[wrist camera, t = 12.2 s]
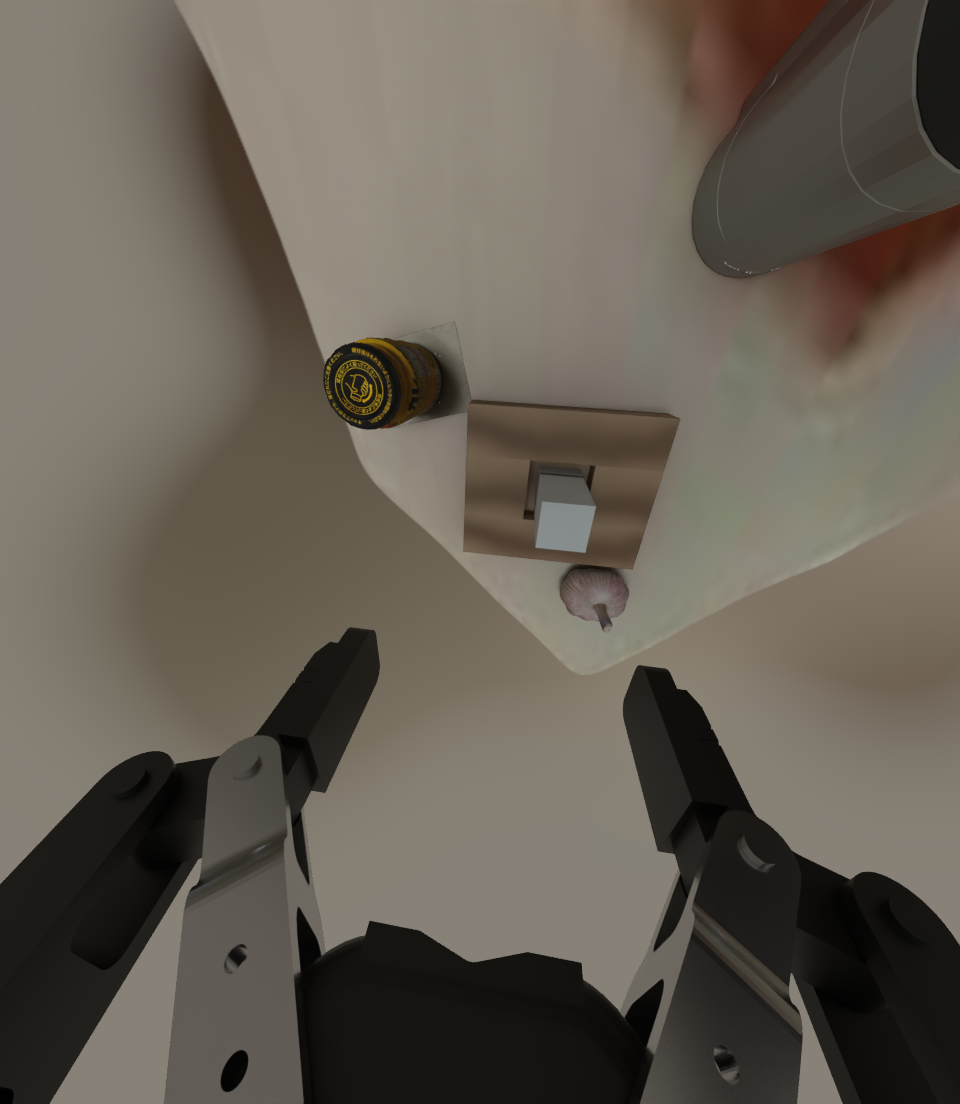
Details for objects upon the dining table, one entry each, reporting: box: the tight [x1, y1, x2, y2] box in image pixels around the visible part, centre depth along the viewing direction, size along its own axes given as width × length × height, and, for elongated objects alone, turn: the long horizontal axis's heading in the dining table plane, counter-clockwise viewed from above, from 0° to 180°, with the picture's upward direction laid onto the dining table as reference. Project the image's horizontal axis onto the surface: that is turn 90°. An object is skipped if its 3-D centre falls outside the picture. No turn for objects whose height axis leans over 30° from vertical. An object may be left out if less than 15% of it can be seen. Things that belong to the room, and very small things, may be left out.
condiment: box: [323, 322, 471, 430], centre depth 28 cm, size 7×8×12 cm
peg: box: [534, 466, 596, 553], centre depth 32 cm, size 4×4×10 cm
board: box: [463, 400, 680, 570], centre depth 35 cm, size 15×18×3 cm
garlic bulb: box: [560, 568, 629, 633], centre depth 38 cm, size 8×7×8 cm
